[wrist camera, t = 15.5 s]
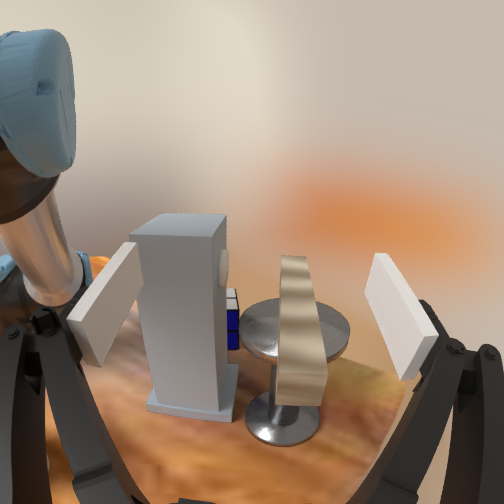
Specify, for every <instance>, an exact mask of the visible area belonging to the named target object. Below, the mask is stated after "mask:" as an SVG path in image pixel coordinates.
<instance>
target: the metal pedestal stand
mask: <svg viewBox="0 0 504 504" xmlns="http://www.w3.org/2000/svg"><path fill="white" fill-rule="evenodd" d="M315 302H316V307H317V312H318V317H319V322H320V327H321V333H322V338H323V344H324V349H325V355H326V361H327V363H329V362H331V361H333V360H335V359H336V358H338V357H339V356H340V355H341V354H342V353H343V352H344V351H345V349H346V347H347V344H348V340H349V335H350V326H349V323H348V321H347V320H346V318H345V317H344V316H343V315H342V314H341V313H340V312H338V311H337V310H335V309H334V308H332V307H330V306H328V305H325V304H323V303H320V302H317V301H315ZM278 330H279V298H276V299H269V300H265V301H262V302H259V303H256V304H254V305H252V306H251V307H249V308H248V309H246V310H245V311H244V312H243V314H242V315H241V317H240V320H239V337H240V340H241V343H242V344H243V346H244V347H245V348H246V349H247V350H248V351H249V352H250V353H251V354H252V355H254V356H255V357H257V358H259V359H260V360H263V361H265V362H267V363H270V364H272V370H271V381H270V391H268V392H265V393H262V394H260V395H258V396H257V397H255V398H254V399H253V400H252V401H251V402H250V403H249V404H248V406H247V408H246V412H245V422H246V426H247V428H248V430H249V432H250V433H251V434H252V435H253V436H254V437H255V438H256V439H258V440H259V441H261V442H263V443H265V444H268V445H271V446H277V447H290V446H295V445H299V444H301V443H303V442H305V441H307V440H308V439H310V438H311V437H312V436H313V435H314V433H315V432H316V430H317V428H318V425H319V422H320V414H319V410H318V408H317V406H294V405H275V398H276V378H277V356H278Z"/></svg>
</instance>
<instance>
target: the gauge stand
mask: <svg viewBox="0 0 504 504" xmlns="http://www.w3.org/2000/svg"><path fill="white" fill-rule="evenodd" d="M129 241H130V242H137V247H138V253H139V259H140V265H141V270H142V276H143V281H144V285H143V286H142V288H141V290H140V292H139V294H138V296H137V297H136V299H137V305H138V312H139V318H140V323H141V329H142V334H143V340H144V345H145V350H146V355H147V359H148V364H149V368H150V373H151V377H152V381H153V389H152V391H151V393H150V395H149V398H148V400H147V402H146V406H147V409H148V411H150V412H155V413H160V414H166V415H172V416H178V417H185V418H192V419H200V420H208V421H217V422H228V423H232V416H233V409H234V402H235V394H236V387H237V380H238V373H239V364H230V363H228V356H227V293H226V285H227V279H228V267H229V258H228V257H229V256H228V250H227V249H226V215H224V214H222V215H221V214H177V213H162V214H160V215H159V216H157V217H155V218H154V219H152V220H151V221H149V222H147V223H146V224H144V225H143V226H141V227H140V228H138V229H136V230H135V231H133V232H132V233H130V234H129Z"/></svg>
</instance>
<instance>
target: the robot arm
mask: <svg viewBox="0 0 504 504" xmlns="http://www.w3.org/2000/svg"><path fill="white" fill-rule="evenodd" d="M74 99H75V91H74V76H73V65H72V58H71V52H70V48H69V45H68V43H67V41H66V39H65V37H64V36H63V35H62V34H61V33H60V32H58V31H55V30H52V29H42V30H34V31H26V32H19V31H11V32H7V33H4V34H3V35H1V36H0V241H1V243H2V244H3V246H4V247H5V249H6V250H7V252H8V253H9V254H7V255H3V256H0V504H53V503H52V497H51V491H50V484H49V476H48V467H47V456H46V440H45V385H46V389H47V394H48V398H49V402H50V406H51V409H52V413H53V417H54V420H55V424H56V427H57V430H58V433H59V436H60V439H61V442H62V445H63V448H64V451H65V454H66V457H67V459H68V462H69V464H70V467H71V470H72V472H73V475H74V480H73V481H72V485H73V488H74V491H75V493H76V496H77V498H78V500H79V502H80V504H150V503H149V501H148V500H147V499H146V497H145V496H144V495H143V494H142V492H141V491H140V490H139V488H138V487H137V485H136V483H135V482H134V480H133V478H132V477H131V475H130V473H129V471H128V470H127V468H126V466H125V464H124V462H123V461H122V459H121V457H120V455H119V453H118V451H117V449H116V447H115V445H114V443H113V441H112V439H111V437H110V435H109V433H108V431H107V429H106V426H105V424H104V422H103V420H102V417H101V415H100V413H99V411H98V408H97V406H96V403H95V401H94V398H93V396H92V393H91V391H90V388H89V386H88V383H87V380H86V377H85V375H84V372H83V369H82V366H81V364H80V360H81V358H82V356H83V358H84V360H85V362H86V364H87V365H91V366H95V367H100V368H101V366H102V364H103V362H104V360H105V358H106V356H107V354H108V352H109V350H110V348H111V346H112V344H113V342H114V340H115V338H116V336H117V334H118V332H119V330H120V328H121V326H122V324H123V322H124V320H125V318H126V316H127V314H128V312H129V311H130V309H131V307H132V305H133V303H134V301H135V299H136V297H137V296H138V294H139V292H140V290H141V288H142V286H143V285H144V281H143V276H142V270H141V265H140V259H139V253H138V247H137V242H124V243H123V245H122V246H121V247H120V248H119V250H118V251H117V252H116V253H115V255H114V256H113V257H112V258H111V259H110V261H109V262H108V263H107V264H106V266H105V267H104V268H103V270H102V271H101V272H100V273H99V275H98V276H97V277H96V279H95V280H94V281H93V280H92V273H91V267H90V261H89V258H88V255H87V253H85V252H79V251H76V252H75V250H73V249H72V248H71V247H70V246H68V245H67V242H66V239H65V235H64V231H63V228H62V224H61V220H60V216H59V212H58V208H57V203H56V199H55V194H54V190H53V189H54V188H55V186H56V184H57V182H58V180H59V177H60V174H61V172H64V171H66V170H67V169H69V168H70V167H71V166H72V164H73V162H74V157H75V150H76V114H75V104H74ZM365 296H366V298H367V300H368V302H369V305H370V307H371V309H372V312H373V314H374V316H375V319H376V321H377V323H378V326H379V328H380V331H381V333H382V336H383V338H384V340H385V343H386V346H387V348H388V351H389V353H390V355H391V358H392V361H393V364H394V366H395V369H396V372H397V374H398V377H399V380H400V381H402V380H409V379H414V378H415V376H416V375H417V373H418V371H419V370H420V373H421V375H422V377H421V379H420V381H419V382H418V384H417V385H416V387H415V388H414V390H413V392H414V394H413V396H412V398H411V400H410V402H409V404H408V406H407V408H406V410H405V412H404V414H403V416H402V418H401V420H400V422H399V424H398V426H397V427H396V429H395V431H394V433H393V435H392V436H391V438H390V440H389V442H388V443H387V445H386V447H385V448H384V450H383V452H382V453H381V455H380V457H379V458H378V460H377V461H376V463H375V465H374V466H373V468H372V469H371V471H370V472H369V474H368V475H367V477H366V478H365V480H364V481H363V483H362V484H361V485H360V487H359V488H358V490H357V491H356V492H355V494H354V495H353V496H352V498H351V499H350V500H349V501H348V502H347V503H346V504H416V503H417V501H418V497H419V496H418V495H417V490H418V488H419V486H420V484H421V482H422V480H423V478H424V476H425V474H426V472H427V470H428V468H429V465H430V463H431V461H432V459H433V456H434V454H435V452H436V449H437V447H438V445H439V442H440V439H441V437H442V434H443V432H444V429H445V426H446V424H447V421H448V418H449V415H450V412H451V409H452V406H453V419H452V420H453V421H452V431H451V441H450V449H449V457H448V464H447V470H446V476H445V481H444V486H443V491H442V495H441V500H440V504H504V372H503V365H502V359H501V355H500V353H499V351H498V350H497V349H496V348H495V347H494V346H492V345H490V344H483V345H482V346H481V347H480V348H479V350H478V351H477V352H476V351H470V350H466V348H465V346H464V345H463V344H462V343H461V342H460V341H458V340H457V339H453V338H450V337H449V335H448V334H447V332H446V330H445V329H444V327H443V325H442V324H441V322H440V321H439V320H438V317H437V316H436V314H435V312H434V311H433V309H432V308H431V306H430V305H429V304H428V303H426V302H425V301H424V300H418V299H417V298H416V296H415V294H414V293H413V291H412V290H411V288H410V287H409V285H408V284H407V282H406V281H405V279H404V277H403V276H402V274H401V273H400V271H399V270H398V268H397V267H396V265H395V264H394V263H393V261H392V260H391V258H390V257H389V255H388V254H387V253H375V256H374V260H373V264H372V268H371V271H370V276H369V279H368V282H367V286H366V290H365ZM171 504H215V503H212V502H205V501H197V500H190V499H183V498H179V501H178V503H171Z"/></svg>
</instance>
